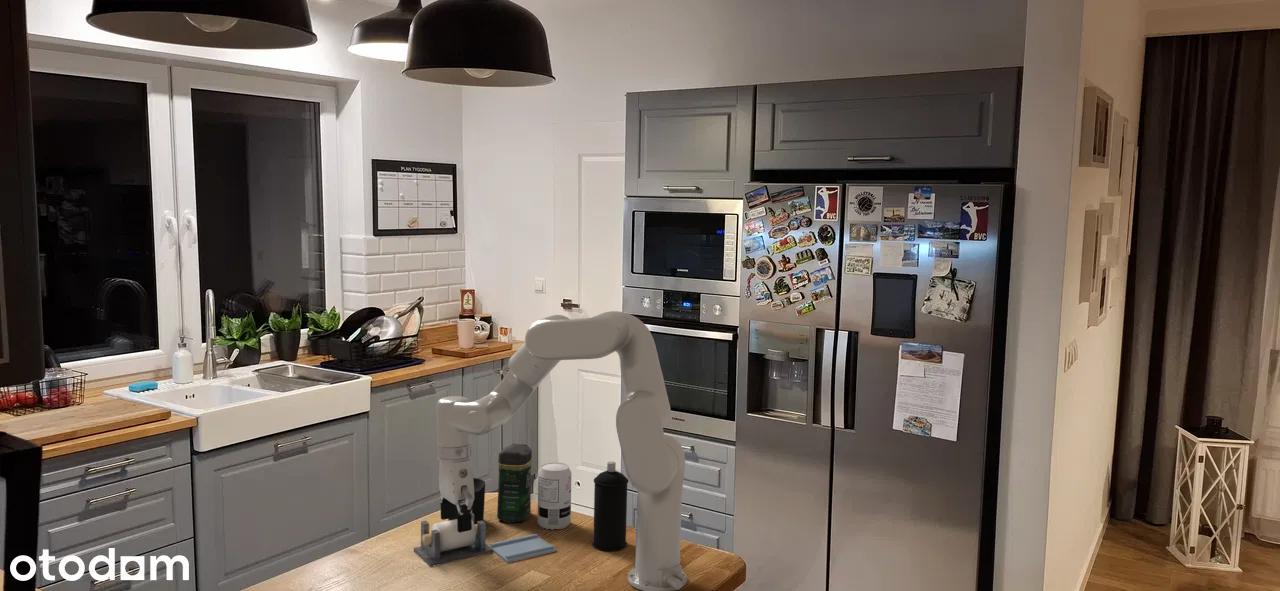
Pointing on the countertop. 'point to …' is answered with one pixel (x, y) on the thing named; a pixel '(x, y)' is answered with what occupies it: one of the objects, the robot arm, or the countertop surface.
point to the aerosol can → (610, 510)
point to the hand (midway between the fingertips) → (456, 524)
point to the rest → (521, 548)
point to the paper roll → (451, 535)
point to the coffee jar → (514, 483)
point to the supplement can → (554, 496)
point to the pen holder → (475, 501)
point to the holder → (436, 557)
